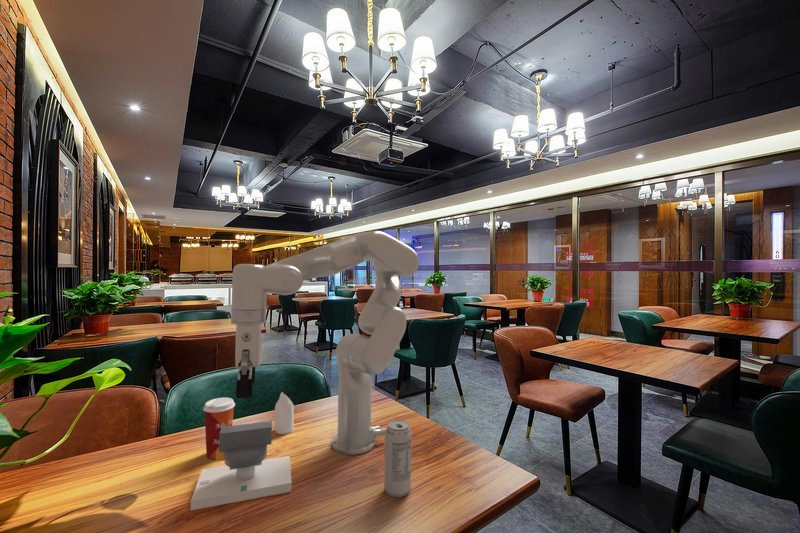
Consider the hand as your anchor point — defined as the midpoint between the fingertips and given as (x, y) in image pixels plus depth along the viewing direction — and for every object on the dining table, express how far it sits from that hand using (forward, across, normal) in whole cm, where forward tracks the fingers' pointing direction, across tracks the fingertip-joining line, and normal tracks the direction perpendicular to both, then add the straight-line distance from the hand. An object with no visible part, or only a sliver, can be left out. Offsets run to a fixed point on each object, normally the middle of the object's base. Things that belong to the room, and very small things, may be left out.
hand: (246, 390), depth 81 cm
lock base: (+22, 0, -1) cm, 22 cm away
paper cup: (+22, +17, +7) cm, 29 cm away
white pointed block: (+22, +26, -10) cm, 36 cm away
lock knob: (+16, 0, 0) cm, 16 cm away
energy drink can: (+22, -13, -34) cm, 42 cm away
